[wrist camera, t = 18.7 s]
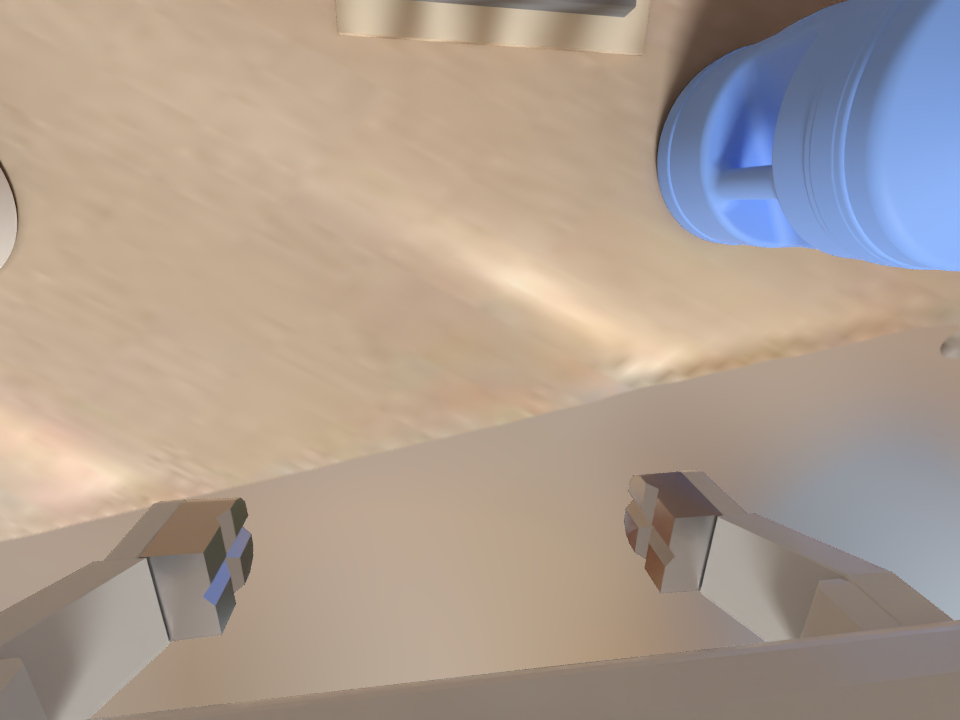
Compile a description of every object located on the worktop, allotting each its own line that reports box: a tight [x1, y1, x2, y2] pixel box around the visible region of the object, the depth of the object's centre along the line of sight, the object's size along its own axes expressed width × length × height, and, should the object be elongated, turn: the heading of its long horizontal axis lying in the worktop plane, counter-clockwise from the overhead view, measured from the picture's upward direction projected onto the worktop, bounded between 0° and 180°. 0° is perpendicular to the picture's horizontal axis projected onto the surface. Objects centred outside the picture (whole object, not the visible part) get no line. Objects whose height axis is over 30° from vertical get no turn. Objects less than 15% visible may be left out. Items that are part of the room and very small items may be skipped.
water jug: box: [657, 0, 960, 271], centre depth 28 cm, size 16×16×28 cm
